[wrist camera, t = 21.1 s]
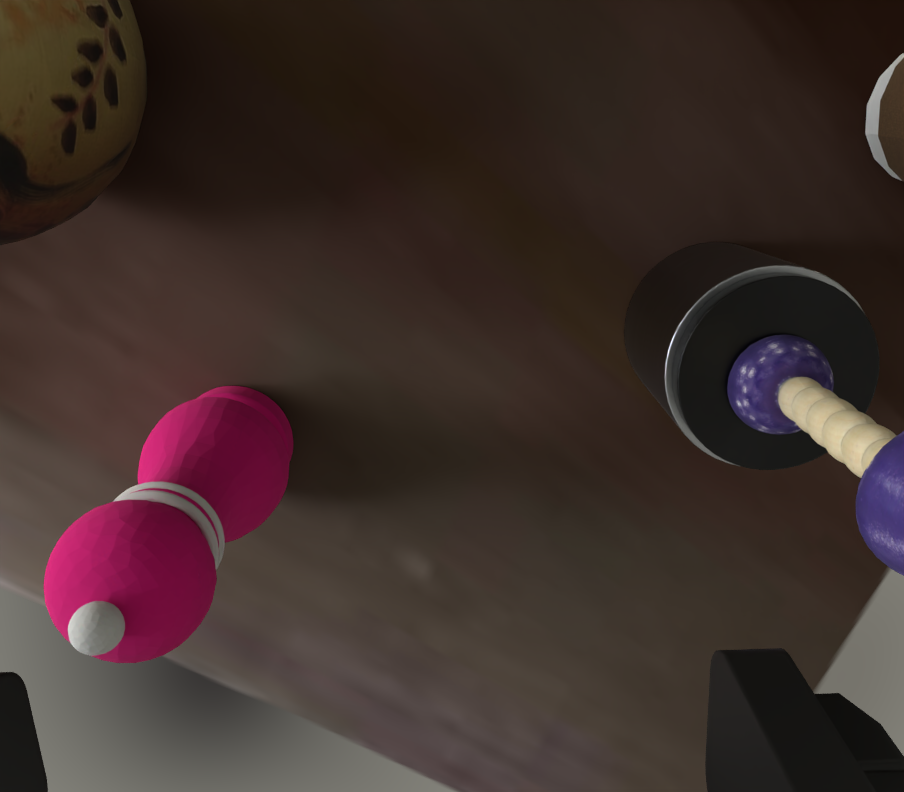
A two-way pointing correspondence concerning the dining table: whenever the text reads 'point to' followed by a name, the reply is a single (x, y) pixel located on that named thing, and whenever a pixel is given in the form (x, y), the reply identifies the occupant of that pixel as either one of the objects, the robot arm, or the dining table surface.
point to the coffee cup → (888, 120)
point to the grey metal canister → (741, 343)
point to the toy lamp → (825, 430)
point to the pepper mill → (169, 527)
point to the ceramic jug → (65, 107)
